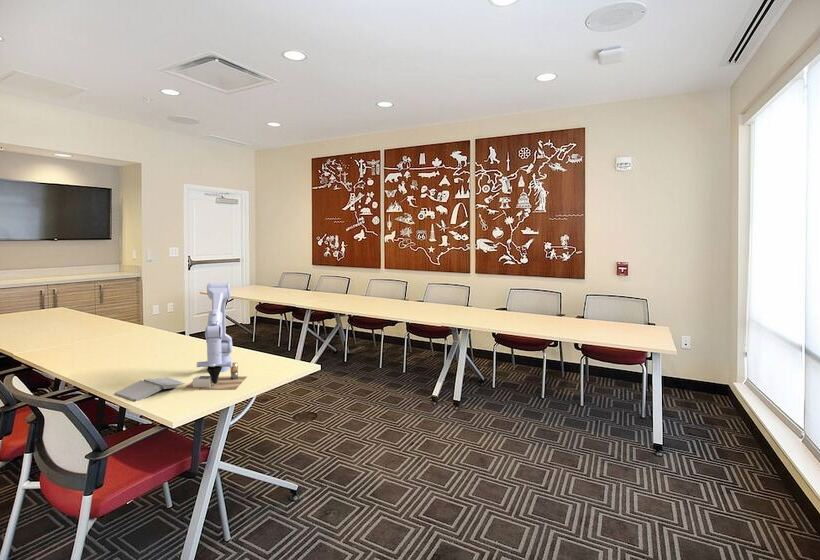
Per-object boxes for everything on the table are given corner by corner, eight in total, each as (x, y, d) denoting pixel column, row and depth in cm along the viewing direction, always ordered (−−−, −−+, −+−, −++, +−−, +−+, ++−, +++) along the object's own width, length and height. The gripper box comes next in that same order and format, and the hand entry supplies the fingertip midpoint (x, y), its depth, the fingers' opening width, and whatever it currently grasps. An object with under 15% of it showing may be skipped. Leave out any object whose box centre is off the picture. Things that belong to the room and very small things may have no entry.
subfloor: (198, 379, 208) (198, 376, 208) (247, 378, 209) (247, 376, 209) (182, 392, 190) (182, 389, 190) (235, 392, 192) (235, 389, 191)
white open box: (197, 383, 198) (197, 375, 198) (213, 383, 199) (213, 375, 198) (193, 387, 193) (192, 378, 193) (209, 387, 194) (209, 378, 194)
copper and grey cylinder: (231, 377, 207) (231, 362, 207) (239, 377, 208) (238, 362, 207) (229, 379, 204) (229, 364, 203) (236, 379, 204) (236, 364, 204)
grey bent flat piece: (135, 403, 179) (134, 394, 179) (114, 395, 186) (114, 387, 186) (187, 386, 199) (187, 378, 199) (167, 380, 206) (167, 373, 206)
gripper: (193, 354, 190) (194, 386, 192) (228, 355, 192) (229, 385, 193) (199, 350, 197) (200, 380, 199) (233, 350, 199) (234, 380, 200)
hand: (215, 382), depth 196 cm, fingers closed
